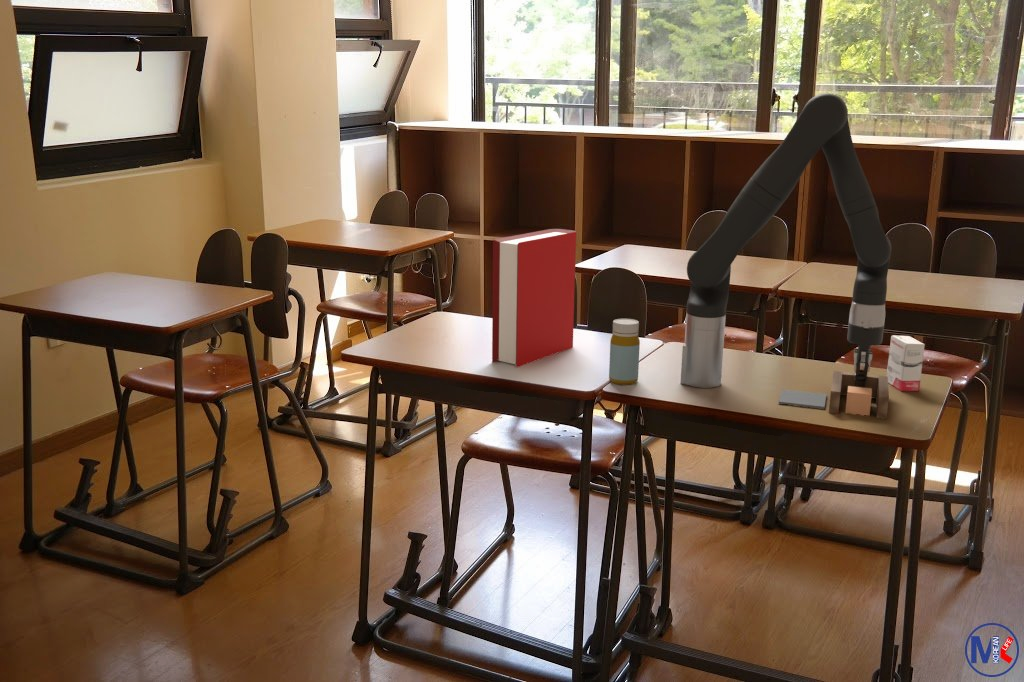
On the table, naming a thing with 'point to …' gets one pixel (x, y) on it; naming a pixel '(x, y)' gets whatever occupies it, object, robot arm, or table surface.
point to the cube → (858, 400)
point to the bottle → (624, 352)
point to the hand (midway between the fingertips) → (858, 395)
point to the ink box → (905, 363)
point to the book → (533, 295)
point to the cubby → (873, 381)
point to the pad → (803, 399)
